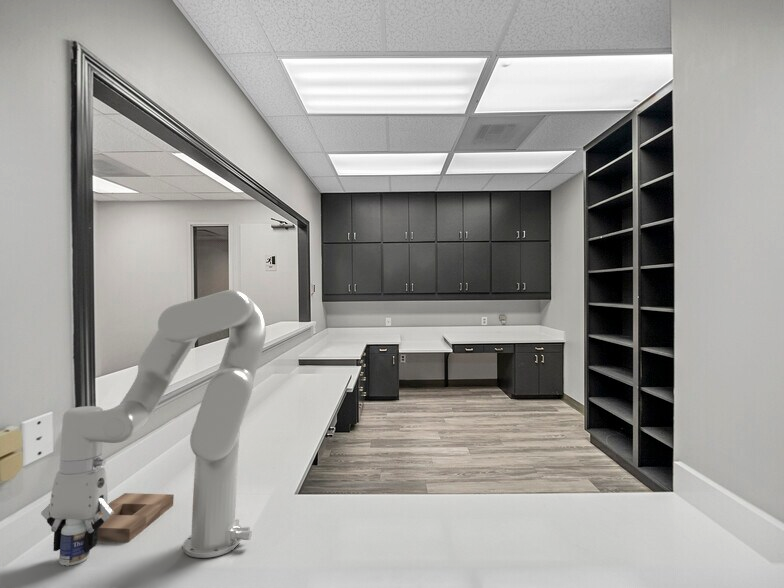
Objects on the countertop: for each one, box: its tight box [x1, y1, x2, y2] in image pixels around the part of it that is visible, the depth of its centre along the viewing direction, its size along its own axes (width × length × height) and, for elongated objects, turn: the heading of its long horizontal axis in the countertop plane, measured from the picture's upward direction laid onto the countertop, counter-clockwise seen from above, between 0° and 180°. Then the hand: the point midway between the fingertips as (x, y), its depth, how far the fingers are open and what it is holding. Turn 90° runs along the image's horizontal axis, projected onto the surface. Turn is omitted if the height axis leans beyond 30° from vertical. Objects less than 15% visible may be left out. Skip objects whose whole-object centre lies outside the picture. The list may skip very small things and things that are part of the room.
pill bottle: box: [58, 519, 91, 567], centre depth 94 cm, size 5×5×10 cm
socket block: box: [92, 492, 175, 543], centre depth 112 cm, size 14×20×3 cm
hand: (75, 547), depth 94 cm, fingers open, 5 cm apart
